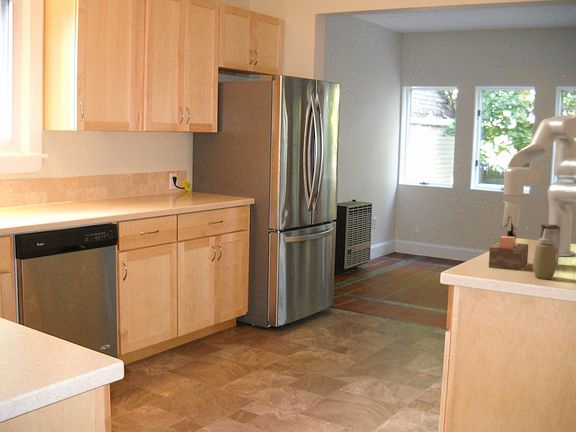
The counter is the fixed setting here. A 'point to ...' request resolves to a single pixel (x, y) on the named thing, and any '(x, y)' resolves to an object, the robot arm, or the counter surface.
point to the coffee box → (553, 237)
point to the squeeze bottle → (544, 258)
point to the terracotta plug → (507, 242)
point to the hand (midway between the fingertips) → (510, 244)
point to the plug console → (508, 257)
